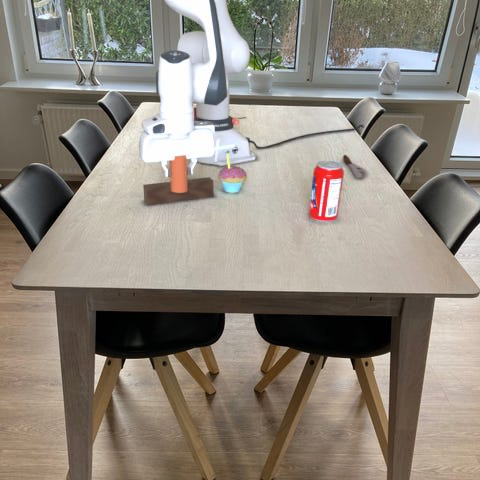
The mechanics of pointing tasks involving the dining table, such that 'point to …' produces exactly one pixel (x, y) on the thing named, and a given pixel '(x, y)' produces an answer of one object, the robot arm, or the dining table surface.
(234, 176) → the cupcake
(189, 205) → the dining table surface
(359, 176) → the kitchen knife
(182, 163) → the capped bottle
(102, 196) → the dining table surface
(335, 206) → the soda can
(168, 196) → the wall
